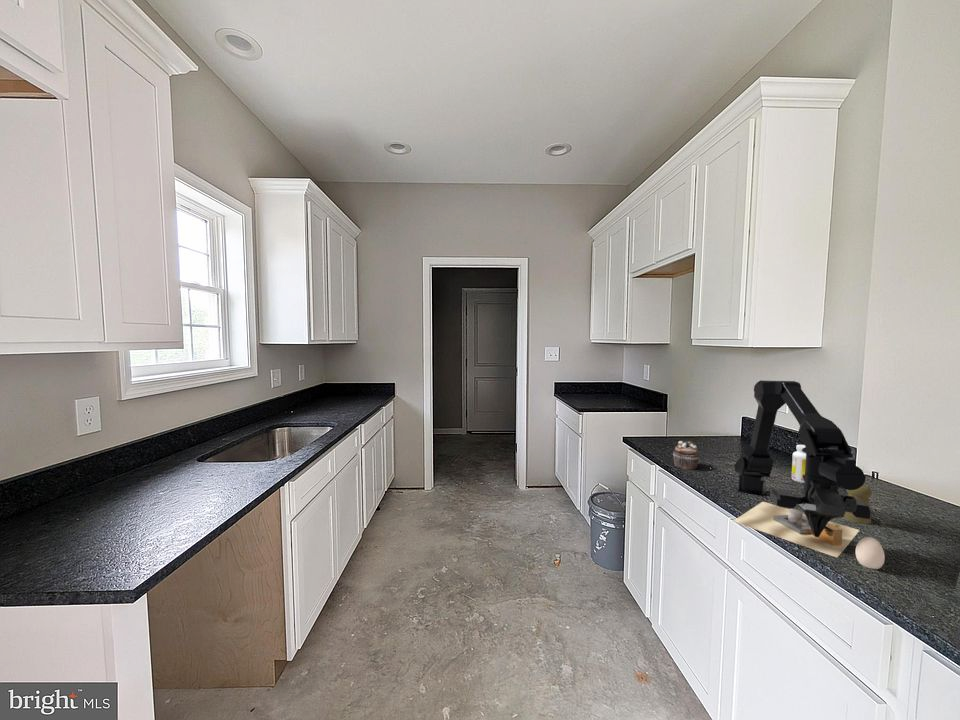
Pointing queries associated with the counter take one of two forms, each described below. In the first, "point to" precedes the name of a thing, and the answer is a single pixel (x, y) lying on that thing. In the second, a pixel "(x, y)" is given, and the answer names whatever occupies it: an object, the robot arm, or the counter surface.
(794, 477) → the supplement bottle
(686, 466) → the cupcake
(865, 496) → the cork
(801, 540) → the board
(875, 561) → the egg
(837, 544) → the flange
